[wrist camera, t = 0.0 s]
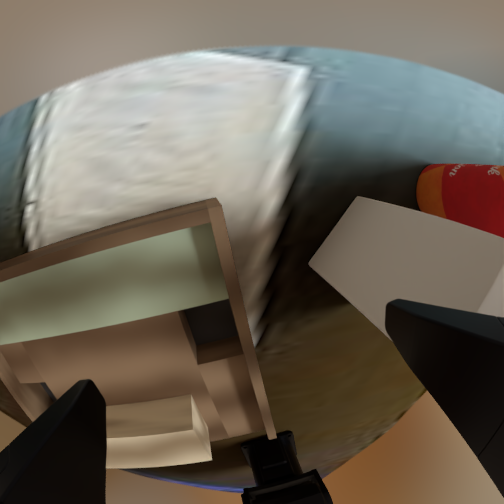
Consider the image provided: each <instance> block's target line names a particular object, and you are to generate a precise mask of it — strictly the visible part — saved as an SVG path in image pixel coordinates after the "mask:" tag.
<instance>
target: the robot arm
mask: <svg viewBox="0 0 504 504" xmlns="http://www.w3.org/2000/svg"><path fill="white" fill-rule="evenodd" d="M385 329H386V332H387V334H388V335H389V337H390V338H391V340H392V341H393V343H394V344H395V346H396V347H397V349H398V350H399V352H400V354H401V355H402V357H403V358H404V360H405V362H406V363H407V364H408V366H409V367H410V369H411V370H412V371H413V373H414V374H415V375H416V376H417V378H418V379H419V380H420V381H421V383H422V384H423V385H424V386H425V388H426V389H427V390H428V392H429V393H430V394H431V395H432V397H433V398H434V399H435V401H436V402H437V403H438V405H439V406H440V407H441V409H442V410H443V411H444V412H445V414H446V415H447V416H448V418H449V419H450V421H451V422H452V423H453V424H454V426H455V427H456V429H457V430H458V431H459V433H460V434H461V436H462V437H463V438H464V440H465V441H466V442H467V444H468V445H469V447H470V448H471V449H472V451H473V452H474V454H475V455H476V456H477V458H478V460H479V461H480V463H481V464H482V466H483V467H484V469H485V470H486V472H487V473H488V475H489V476H490V478H491V479H492V481H493V482H494V484H495V485H496V487H497V488H498V490H499V491H500V493H501V494H502V496H503V497H504V317H496V316H492V315H486V314H481V313H475V312H469V311H464V310H458V309H453V308H447V307H442V306H436V305H431V304H426V303H420V302H415V301H410V300H404V299H399V298H398V299H395V300H392V301H390V302H388V303H387V304H386V309H385ZM276 436H277V438H274V439H271V440H269V439H268V437H267V438H263V439H260V440H256V441H252V442H247V443H243V444H241V449H242V451H243V453H244V455H245V458H246V460H247V462H248V464H249V466H250V467H251V468H252V471H253V475H254V479H255V483H256V487H252V488H244V489H243V490H244V493H243V494H242V495H241V497H242V502H243V504H333V502H332V499H331V496H330V494H329V492H328V490H327V488H326V486H325V484H324V483H323V481H322V479H321V477H320V475H319V474H318V472H317V470H316V469H313V470H311V471H310V472H307V473H304V474H303V471H302V469H301V467H300V464H299V462H298V459H297V457H296V455H297V452H296V447H295V441H294V435H293V433H292V431H288V432H285V433H281V434H278V435H276ZM106 456H107V431H106V402H105V399H104V397H103V395H102V394H101V392H100V391H99V389H98V388H97V386H96V385H95V383H94V382H93V381H92V380H91V379H83V380H79V381H77V382H76V383H75V384H74V385H73V386H72V387H71V388H70V389H68V390H67V391H66V392H65V393H64V394H63V395H62V396H61V397H60V398H59V399H57V400H56V401H55V402H54V403H53V404H52V405H51V406H50V407H49V408H48V409H46V410H45V411H44V412H43V413H42V414H41V415H40V416H39V417H38V418H37V419H36V420H35V421H33V422H32V423H31V424H30V425H29V426H28V427H27V428H26V429H25V430H24V431H23V432H22V433H21V434H19V436H17V437H16V438H15V439H14V440H13V441H12V442H11V443H10V444H9V445H8V446H7V447H6V448H5V449H3V450H2V451H1V452H0V504H106V502H105V487H106V486H105V483H106Z"/></svg>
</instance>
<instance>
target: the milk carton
mask: <svg viewBox="0 0 504 504" xmlns="http://www.w3.org/2000/svg"><path fill="white" fill-rule="evenodd" d="M308 265H309V266H310V267H311V268H312V269H313V270H315V271H316V272H317V273H318V274H319V275H320V276H321V277H322V278H324V279H325V280H326V281H327V282H328V283H329V284H330V285H331V286H332V287H334V288H335V289H336V290H337V291H338V292H339V293H340V294H341V295H342V296H344V297H345V298H346V299H347V300H348V301H349V302H350V303H351V304H352V305H353V306H355V307H356V308H357V309H358V310H359V311H360V312H361V313H362V314H363V315H364V316H365V317H367V318H368V319H369V320H370V321H371V322H372V323H373V324H374V325H375V326H376V327H377V328H378V329H380V330H381V331H382V332H383V333H384V334H385V335H386V336H387V337H388V338H389V339H390V340H391V338H390V337H389V335H388V334H387V332H386V329H385V309H386V304H387V303H388V302H390V301H392V300H395V299H398V298H399V299H404V300H410V301H415V302H420V303H426V304H431V305H436V306H442V307H447V308H453V309H458V310H464V311H469V312H475V313H481V314H486V315H492V316H496V317H504V238H502V237H499V236H496V235H494V234H491V233H488V232H485V231H482V230H479V229H476V228H473V227H470V226H467V225H464V224H461V223H457V222H454V221H451V220H448V219H444V218H441V217H438V216H434V215H431V214H427V213H424V212H420V211H416V210H413V209H409V208H405V207H401V206H398V205H394V204H390V203H386V202H382V201H378V200H373V199H369V198H365V197H361V196H357V197H356V198H355V199H354V201H353V202H352V203H351V205H350V206H349V208H348V209H347V210H346V212H345V213H344V215H343V216H342V217H341V219H340V220H339V222H338V223H337V224H336V226H335V227H334V229H333V230H332V231H331V233H330V234H329V235H328V237H327V238H326V239H325V241H324V242H323V244H322V245H321V246H320V248H319V249H318V250H317V252H316V253H315V254H314V256H313V257H312V258H311V260H310V261H309V263H308ZM391 341H392V340H391ZM392 342H393V341H392Z"/></svg>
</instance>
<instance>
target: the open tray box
mask: <svg viewBox="0 0 504 504" xmlns="http://www.w3.org/2000/svg"><path fill="white" fill-rule="evenodd" d="M0 378H1V380H2V381H3V383H4V384H5V386H6V387H7V389H8V390H9V391H10V393H11V394H12V396H13V397H14V398H15V400H16V401H17V402H18V404H19V405H20V406H21V408H22V409H23V410H24V412H25V413H26V414H27V415H28V417H29V418H30V419H31V420H32V421H35V420H36V419H37V418H38V417H39V416H40V415H41V414H42V413H43V412H44V411H45V410H46V409H48V408H49V407H50V406H51V405H52V404H53V403H54V402H55V401H56V400H57V399H59V398H60V397H61V396H62V395H63V394H64V393H65V392H66V391H67V390H68V389H70V388H71V387H72V386H73V385H74V384H75V383H76V382H77V381H79V380H83V379H91V380H92V381H93V382H94V383H95V385H96V386H97V388H98V389H99V391H100V392H101V394H102V395H103V397H104V399H105V402H106V406H113V405H123V404H131V403H139V402H147V401H154V400H161V399H167V398H173V397H179V396H184V395H189V394H191V395H192V397H193V399H194V401H195V403H196V405H197V407H198V409H199V411H200V413H201V415H202V417H203V419H204V421H205V423H206V425H207V427H208V432H209V440H210V442H211V441H216V440H221V439H226V438H231V437H236V436H240V435H244V434H249V433H253V432H257V431H260V430H264V429H266V432H267V436H268V439H269V440H271V439H274V438H277V436H276V432H275V428H274V425H273V421H272V417H271V413H270V409H269V405H268V401H267V397H266V393H265V389H264V385H263V381H262V377H261V373H260V369H259V365H258V361H257V357H256V353H255V349H254V345H253V341H252V337H251V332H250V328H249V324H248V320H247V316H246V311H245V307H244V303H243V299H242V294H241V290H240V286H239V281H238V277H237V273H236V268H235V264H234V259H233V255H232V250H231V246H230V242H229V237H228V233H227V228H226V223H225V219H224V214H223V210H222V205H221V204H220V203H219V201H218V200H217V198H212V199H208V200H204V201H200V202H195V203H191V204H187V205H183V206H179V207H175V208H171V209H168V210H164V211H160V212H156V213H153V214H149V215H145V216H142V217H138V218H134V219H131V220H127V221H124V222H120V223H117V224H114V225H110V226H107V227H104V228H100V229H97V230H94V231H91V232H87V233H84V234H81V235H78V236H75V237H72V238H69V239H66V240H63V241H60V242H57V243H54V244H51V245H48V246H45V247H42V248H39V249H36V250H34V251H31V252H28V253H25V254H23V255H20V256H17V257H15V258H12V259H9V260H7V261H4V262H2V263H0Z"/></svg>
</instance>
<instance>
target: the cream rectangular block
mask: <svg viewBox="0 0 504 504" xmlns="http://www.w3.org/2000/svg"><path fill="white" fill-rule="evenodd" d="M106 431H107V456H106V468H147V467H162V466H173V465H182V464H190V463H197V462H204V461H210V460H212V455H211V448H210V440H209V432H208V427H207V425H206V423H205V421H204V419H203V417H202V415H201V413H200V411H199V409H198V407H197V405H196V403H195V401H194V399H193V397H192V395H191V394H189V395H184V396H179V397H173V398H167V399H161V400H154V401H147V402H139V403H131V404H123V405H113V406H106Z"/></svg>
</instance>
